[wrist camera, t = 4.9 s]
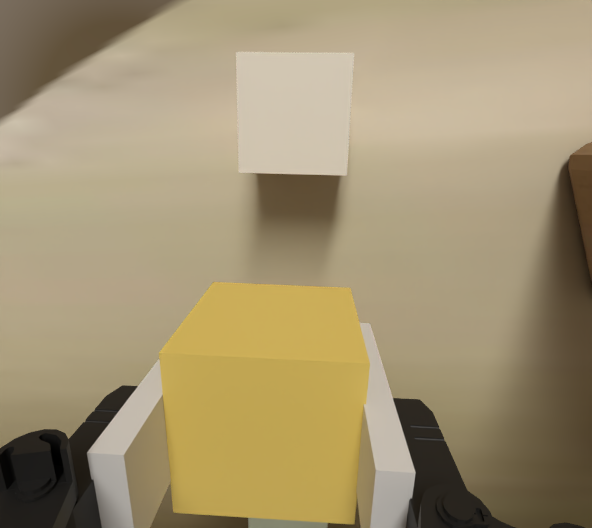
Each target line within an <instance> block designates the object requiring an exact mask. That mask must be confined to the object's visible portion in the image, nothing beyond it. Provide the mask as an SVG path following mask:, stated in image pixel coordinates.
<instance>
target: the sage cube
mask: <svg viewBox="0 0 592 528" xmlns="http://www.w3.org/2000/svg"><path fill="white" fill-rule="evenodd" d="M327 524H328V523H323V522H308V521H293V520H277V519H262V518H248V528H327Z"/></svg>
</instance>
